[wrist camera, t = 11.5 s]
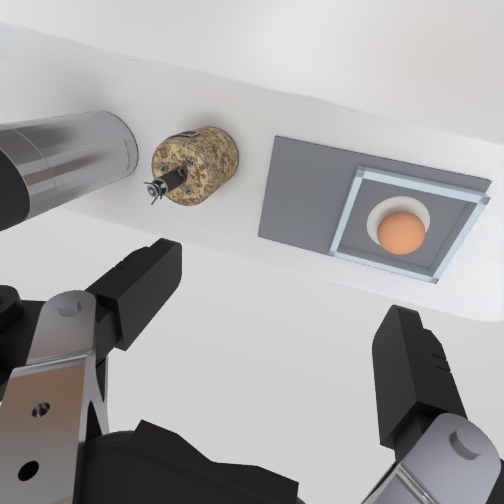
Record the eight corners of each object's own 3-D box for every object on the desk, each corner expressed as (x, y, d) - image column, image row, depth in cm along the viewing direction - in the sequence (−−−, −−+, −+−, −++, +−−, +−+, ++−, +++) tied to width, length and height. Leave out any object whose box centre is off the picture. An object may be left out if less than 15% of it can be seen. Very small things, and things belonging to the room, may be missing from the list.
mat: (258, 234, 43) (257, 236, 42) (276, 135, 35) (275, 136, 34) (428, 279, 39) (429, 282, 38) (489, 179, 31) (491, 181, 31)
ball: (384, 200, 34) (389, 217, 30) (428, 210, 34) (439, 229, 30) (369, 236, 37) (372, 256, 33) (409, 246, 36) (417, 267, 32)
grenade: (248, 171, 38) (200, 215, 26) (204, 189, 41) (143, 237, 29) (222, 114, 35) (155, 133, 23) (178, 139, 39) (98, 167, 26)
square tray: (329, 247, 40) (328, 255, 38) (357, 164, 33) (357, 169, 32) (432, 275, 38) (436, 283, 36) (483, 191, 31) (490, 198, 30)
